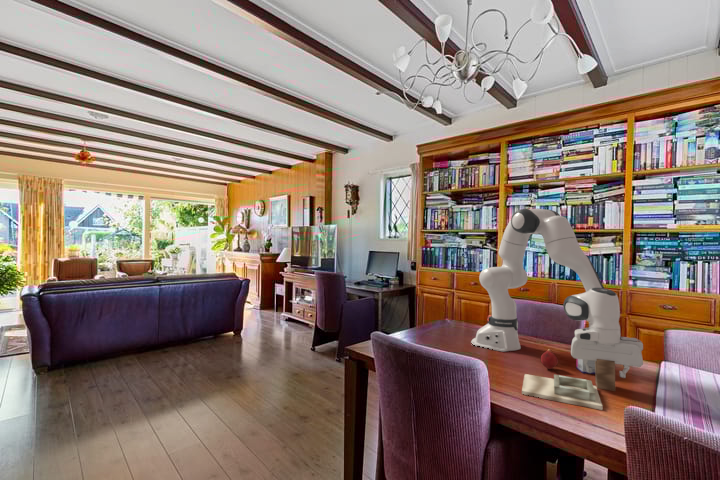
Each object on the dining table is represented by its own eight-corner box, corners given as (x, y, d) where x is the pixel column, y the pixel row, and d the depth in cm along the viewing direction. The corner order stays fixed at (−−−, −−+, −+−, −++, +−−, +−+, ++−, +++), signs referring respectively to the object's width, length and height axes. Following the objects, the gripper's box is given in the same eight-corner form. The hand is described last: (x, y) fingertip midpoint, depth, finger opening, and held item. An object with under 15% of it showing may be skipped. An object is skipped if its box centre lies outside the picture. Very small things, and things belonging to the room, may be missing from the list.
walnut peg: (597, 388, 114) (596, 359, 115) (595, 382, 119) (595, 355, 119) (615, 391, 112) (614, 361, 112) (612, 385, 116) (612, 357, 116)
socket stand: (521, 394, 111) (521, 383, 111) (524, 377, 124) (524, 367, 124) (602, 410, 100) (602, 397, 100) (596, 389, 113) (595, 378, 113)
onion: (551, 373, 128) (551, 352, 128) (537, 368, 133) (537, 348, 133) (560, 370, 130) (560, 350, 131) (546, 365, 136) (546, 346, 136)
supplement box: (599, 374, 126) (599, 344, 126) (582, 373, 127) (581, 343, 127) (592, 368, 132) (591, 340, 132) (575, 367, 133) (575, 339, 133)
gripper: (640, 336, 113) (641, 376, 113) (570, 329, 123) (570, 366, 123) (645, 341, 108) (646, 383, 107) (571, 333, 118) (571, 372, 118)
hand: (605, 374), depth 115 cm, fingers open, 8 cm apart
